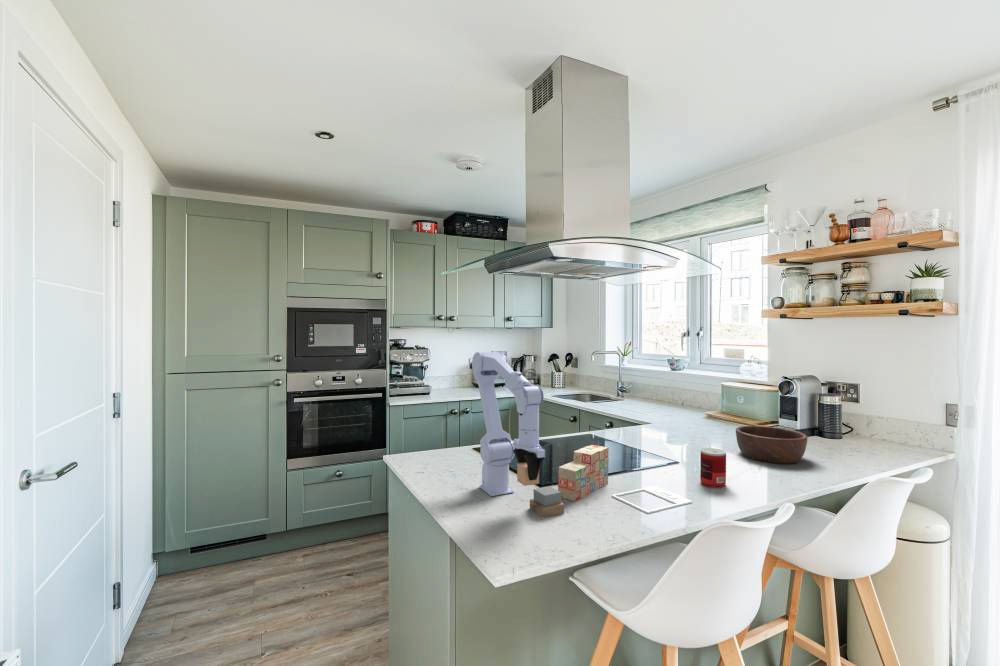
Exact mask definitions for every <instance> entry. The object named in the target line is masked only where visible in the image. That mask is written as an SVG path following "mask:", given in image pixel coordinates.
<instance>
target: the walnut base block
mask: <svg viewBox="0 0 1000 666" xmlns="http://www.w3.org/2000/svg"><path fill="white" fill-rule="evenodd" d="M529 509H530V510H531V511H532V512H534V514H537V515H539V516H540V517H541V518H547V517H548V518H549V517H552V516H553V517H554V516H557V515H561V514H565V503H563V502H562V501H561V503H558V504H554V505H549V506H543V505H541V504H540V503H538V502H536V501H535V500H534V498H529Z"/></svg>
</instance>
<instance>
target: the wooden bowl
mask: <svg viewBox="0 0 1000 666" xmlns="http://www.w3.org/2000/svg"><path fill="white" fill-rule="evenodd" d="M735 436H736V443H737V446H738V448H739V451H740V453H742V455H744V456H745V457H747V458H749V459H752V460H756V461H760V462H763V463H769V464H770V463H772V464H796V463H798V462H799V461H801V460H802V458H803V457H804V455H805V453H806V449H807V445H808V435H807V434H805V433H803V432H802V431H799V430H798V431H796V430H793V429H789V428H783V427H777V426H770V425H769V426H767V425H742V426H738V427H736V428H735Z"/></svg>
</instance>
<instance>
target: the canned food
mask: <svg viewBox="0 0 1000 666" xmlns="http://www.w3.org/2000/svg"><path fill="white" fill-rule="evenodd" d="M700 483H701V485H703V486H705V487H708V486H709V487H708V488H716V489H717V488H719V489H720V488H724V487H725V486H726V484H727V452H726V451H725V450H722V449H720V448H714V447H713V448H712V447H707V448H706V447H705V448H701V449H700Z"/></svg>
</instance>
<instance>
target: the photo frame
mask: <svg viewBox="0 0 1000 666" xmlns="http://www.w3.org/2000/svg"><path fill="white" fill-rule="evenodd" d="M645 491H646V493H649V494H651V495H652V496H655V497H658V498H660V499H663V500H665V501H668V502H670V503H672V504H671V505H667V506H666V505H665V506H662V507H657V508H654V509H651V510H650V509H649V510H647V509H644V508H642V507H641V506H639V505H636V504H634V503H632V502H630V501H627V500H626V499H623V498H621V496H625V495H626V494H627V495H630V494H636V493H640V492H645ZM627 495H626V496H627ZM611 497H612V498H614V499H615V500H617V501H620V502H622V503H623V504H627V505H628V506H630V507H633V508H634V509H636V508H637V509H636V510H638V509H639V510H638V511H640V512H643V513H645V514H647V515H649V514H652V513H653V514H654V513H656V512H657V513H658V512H661V511H666V510H670V509H673V508H677V507H682V506H685V505H689V504H692V503H693V500H691V499H687V498H685V497H684V496H680V495H679V494H676V493H673V492H670V491H668V490H666V489H663V488H660V487H659V486H655V485H653V486H647V487H643V488H638V489H634V490H633V489H632V490H629V491H625V492H620V493H619V492H618V493H616V494H611Z"/></svg>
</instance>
